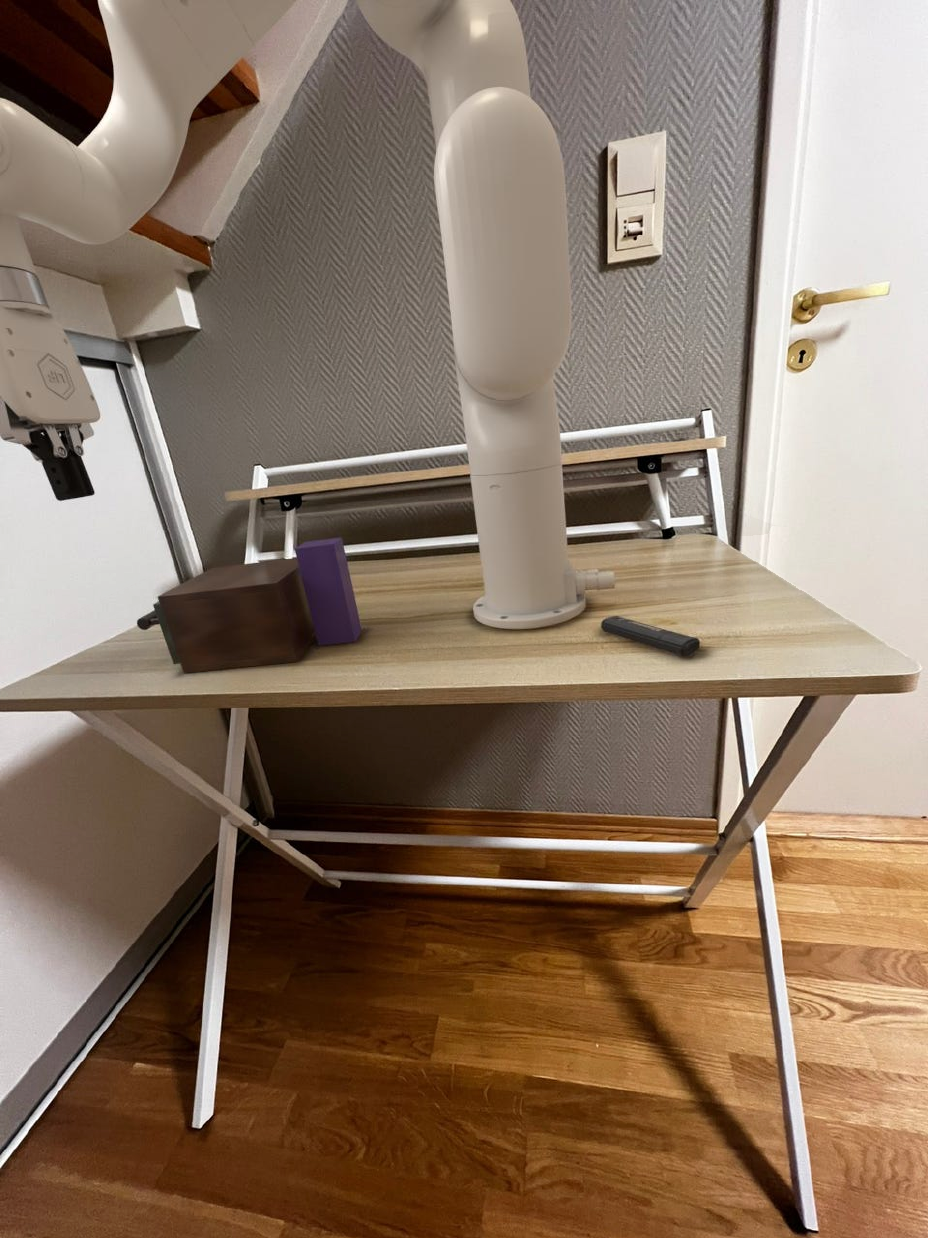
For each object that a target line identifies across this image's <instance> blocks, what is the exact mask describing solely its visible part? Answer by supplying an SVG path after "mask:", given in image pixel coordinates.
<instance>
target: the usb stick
mask: <svg viewBox="0 0 928 1238" xmlns="http://www.w3.org/2000/svg"><path fill="white" fill-rule="evenodd" d="M600 628H601V630H602V632H603V633H607V634H611V635H613V636H616V637H618V638H619V637H620V638H622V639H625V640H629V641H632V642H634V643H638V644H641V645H643V646H647V647H650V648H654V649H657V650H658V651H663V652H666V653H668V654H672V655H676V656H678V657H682V658H687V657H690V656H692V655H693V654H695V653H696V652H697V651H698V650H699V649H700V645H701V641H700V639H699V638H698V637H694V636H690V635H686V634H683V633H679V632H676V631H672V630H667V629H664V628H661V627H657V626H653V625H650V624H646V623H643V622H640V621H636V620H632V619H629V618H626V617H622V616H619V615H613V616H609V617H606V618H604V619H603V620H602V621H601V624H600Z"/></svg>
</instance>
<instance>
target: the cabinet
mask: <svg viewBox="0 0 928 1238" xmlns="http://www.w3.org/2000/svg"><path fill="white" fill-rule="evenodd" d="M157 600H158V601H159V603H160V606H161V609H162V612H163V615H164V617H165V620H166V623H167V626H168V629H169V632H170V635H171V638H172V641H173V644H174V646H175V649H176V652H177V655H178V658H179V661H180V664H179V665H180V667H181V669H182V672H183V674H190V673H201V672H209V671H219V670H228V669H239V668H249V667H259V666H268V665H278V664H287V663H298V662H299V661H300V659H302V657H303V656H304V655H305V654H306V653H307V651H308V650H309V649H310V647H311V646H312V645H313V643H314V642H315V641H317V638H316V634H315V630H314V626H313V622H312V618H311V613H310V609H309V605H308V601H307V597H306V593H305V589H304V585H303V581H302V577H301V573H300V569H299V565H298V561H297V557H291V558H283V559H276V560H267V561H260V562H259V561H257V562H250V563H249V562H248V563H242V564H235V565H233V564H232V565H226V566H215V567H211V568H209V569H207V570H206V571H204V572H201V573H199V574H198V575H196V576H194V577H192V578H190V579H189V580H187V581H185V582H183V583H181V584H179V585H177V586H175V587H173V588H171V589H169V590H167V591H165V592H163V593H162V594H160V595H158V596H157Z"/></svg>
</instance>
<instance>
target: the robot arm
mask: <svg viewBox="0 0 928 1238" xmlns="http://www.w3.org/2000/svg"><path fill="white" fill-rule="evenodd" d="M355 1H356V4H357V6H358V8H359V10H360V12H361V14H362V16H363V18H364V19H365V21H366V22H367V24H368V25H369V27H370V29H372V30H373V32H374V33H375V35H377V36H378V38H380V39H381V40H382V41H383V43H385V44H386V45H387V46H388V47H390V48H391V49H393V50H395V52H397V53H399V54H400V55H403V56H404V57H406V58H407V59H408V60H410V61H411V62H412V63H413V64H415V66H417V67H418V69H419V70H420V72H421V73H422V75H423V77H424V80H425V82H426V87H427V94H428V103H429V110H430V116H431V122H432V128H433V135H434V144H435V157H434V166H433V182H434V183H433V184H434V193H435V202H436V209H437V216H438V221H439V228H440V229H439V230H440V238H441V245H442V254H443V261H444V269H445V277H446V287H447V294H448V302H449V312H450V321H451V330H452V331H451V332H452V341H453V343H452V344H453V356H454V357H453V358H454V365H455V366H454V367H455V373H456V374H455V375H456V379H457V386H458V391H459V397H460V406H461V413H462V419H463V428H464V435H465V443H466V451H467V459H468V468H469V477H470V485H471V493H472V501H473V509H474V516H475V517H474V519H475V525H476V533H477V540H478V549H479V557H480V564H481V565H480V566H481V573H482V580H483V590H484V595H483V596H481V597H479V598H478V599H477V600H476V601H475V602H474V604H473V606H472V610H473V617H474V619H475V620H476V621H477V622H479V623H481V624H482V625H485V626H488V627H491V628H497V629H504V630H528V629H529V630H530V629H531V630H532V629H539V628H544V627H551V626H555V625H558V624H561V623H565V622H566V621H570V620H572V619H574V618H576V617H577V616H579V615H580V614H581V613H582V612H584V610H585V609H586V606H587V603H586V602H587V600H586V591H592V590H597V591H603V590H611V589H615V588H616V577H615V573H614V570H606V571H599V569H598V568H591V569H590V568H589V569H585V570H577V569H576V568H574V567H573V565H572V563H571V562H570V560H569V550H568V547H569V546H568V535H567V519H566V506H565V505H566V504H565V492H564V491H565V490H564V476H563V452H562V439H561V428H560V418H559V411H558V403H557V396H556V390H555V389H556V388H555V380H554V377H555V374H556V373H557V372H558V370H559V369H560V368H561V366H562V364H563V362H564V360H565V357H566V355H567V353H568V352H567V351H568V349H569V345H570V340H571V333H572V332H571V331H572V288H571V287H572V286H571V285H572V284H571V267H570V266H571V265H570V263H571V261H570V245H569V243H570V242H569V225H568V223H569V222H568V207H567V205H568V204H567V190H566V175H565V167H564V159H563V154H562V151H561V147H560V142H559V140H558V137H557V134H556V130H555V129H554V127H553V124H552V122H551V121H550V119H549V118H548V116H547V114H546V113H545V112H544V110H543V109H542V108H541V107H540V106H539V104H538V103H536V102H535V101H534V100H533V99H532V94H531V86H530V73H529V64H528V55H527V49H526V43H525V42H526V41H525V37H524V33H523V29H522V25H521V22H520V19H519V15H518V13H517V11H516V8H515V7H514V4H513V3H512V1H511V0H355ZM296 2H297V0H97V4H98V8H99V12H100V15H101V17H102V21H103V25H104V29H105V32H106V33H105V34H106V37H107V40H108V46H109V49H110V53H111V59H112V65H113V89H112V93H111V99H110V101H109V104H108V107H107V109H106V112H105V113H104V115H103V117H102V118H101V120H100V121H99V123H98V124H97V126H95V128H94V129H93V130H91V132H90V134H88V135H87V137H85V138H84V140H83V141H82V142H81V143H80V144H79V145H78V146H77V145H76V144H74V143H73V142H72V141H70V140H69V139H67V138H66V137H65V136H63V135H62V134H60V133H59V132H57V131H56V130H54V129H53V128H51V127H50V126H48V125H47V124H46V123H45V122H43V121H41V120H40V119H39V118H37V117H36V116H35V115H33V114H32V113H30V112H29V111H27V110H26V109H25V108H23V107H21V106H19V105H18V104H17V103H14V102H13V101H11V100H8V99H6V98H2V97H0V438H1V439H2V440H3V441H4V442H7V443H8V442H9V443H13V444H17V445H22V446H23V447H24V448H26V449H27V450H28V451H29V452H30V454H31V455H32V458H33V459H34V460H35V461H36V462H38V463H41V465H42V467H43V470H44V473H45V476H46V477H47V480H48V483H49V485H50V487H51V490H52V492H53V494H54V497H55V499H56V500H57V501H59V502H63V501H68V500H69V501H70V500H75V499H81V498H82V499H83V498H87V497H92V496H94V495H95V488H94V487H93V484H92V481H91V479H90V475H89V474H88V470H87V468H86V465H85V463H84V460H83V458H82V457H84V455H85V451H84V447H83V443H84V441H85V440H87V439H89V438H92V437H93V436H94V435H95V432H94V429H93V428H92V425H91V424H93V423H97V422H98V421H99V420H100V419H101V412H100V407H99V405H98V402H97V400H96V396H95V395H94V392H93V390H92V388H91V384H90V383H89V380H88V378H87V375H86V372H85V371H84V369H83V367H82V364H81V362H80V360H79V357H78V356H77V353H76V351H75V349H74V347H73V345H72V343H71V342H70V340H69V338H68V336H67V334H66V332H65V330H64V329H63V327H62V326H61V324H60V323H59V321H58V319H55V318H53V317H54V316H53V314H52V311H51V308H50V306H49V303H48V300H47V297H46V295H45V292H44V290H43V286H42V283H41V281H40V279H39V275H38V273H37V270H36V267H35V265H34V262H33V259H32V257H31V254H30V252H29V248H28V245H27V243H26V241H25V238H24V235H23V232H22V229H21V226H20V224H19V222H18V219H17V218H19V219H22V220H26V221H29V222H33V223H37V224H38V225H39V224H40V225H41V226H43V227H46V228H47V229H50V230H52V231H54V232H56V233H59V234H61V235H63V236H65V237H67V238H70V239H71V240H74V241H76V242H79V243H82V244H86V245H97V246H98V245H104V244H107V243H110V242H112V241H114V240H116V239H118V238H120V237H121V236H123V235H124V234H125V233H127V232H128V231H129V230H130V229H131V228H132V227H133V226H135V225H136V224H137V222H139V221H140V220H141V219H142V218H143V217H144V216H145V215H146V214H147V213H148V212H149V211H150V210H151V209H152V208H153V207H154V205H155V204H156V203H157V202H158V201H160V199H161V198H162V196H163V195H164V193H165V192H166V190H167V189H168V187H169V185H170V183H171V181H172V179H173V177H174V175H175V172H176V170H177V166H178V165H179V162H180V158H181V155H182V153H183V150H184V147H185V143H186V140H187V135H188V131H189V125H190V120H191V117H192V114H193V112H194V110H195V109H196V107H197V106H198V105H199V104H200V102H202V101H203V99H204V98H205V97H207V95H208V94H209V93H210V92H212V90H213V89H214V88H215V87H216V86H217V85H218V84H219V82H221V80H222V79H223V78H224V77H225V76H227V74H228V73H229V72H230V71H231V70H232V69H233V68H234V67H235V66H236V65H237V64H238V63H239V62H240V61H241V60H242V59H243V58H244V56H246V54H248V52H249V51H250V50H252V48H253V47H255V45H257V43H258V42H259V41H261V39H262V38H263V37H264V36H265V35H266V34H267V33H268V32H269V31H270V30H271V29H272V28H273V26H275V25H276V24H277V23H278V21H280V20H281V19H282V17H284V16H285V14H286V13H287V12H288V11H289V10H290V9H291V8H292V7H293V6H294V4H295V3H296Z"/></svg>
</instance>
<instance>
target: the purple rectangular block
mask: <svg viewBox="0 0 928 1238" xmlns="http://www.w3.org/2000/svg"><path fill="white" fill-rule="evenodd" d="M294 552H295V558H297V561H298V565H299V569H300V573H301V577H302V581H303V585H304V589H305V593H306V597H307V601H308V605H309V609H310V613H311V618H312V622H313V626H314V630H315V634H316V638H317V639H316V641H317V646H318V647H322V646H330V645H340V644H349V643H356V641H357V640H358V638H359V637H360V635H361V633H362V632H363V630H362V625H361V620H360V616H359V610H358V606H357V602H356V597H355V593H354V588H353V583H352V579H351V573H350V569H349V564H348V560H347V555H346V551H345V546H344V540H343V537H334V538H327V539H326V538H325V539H319V540H310V541H303V542H302V543H301V544H300V545H298V546H297V547H295V548H294Z"/></svg>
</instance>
